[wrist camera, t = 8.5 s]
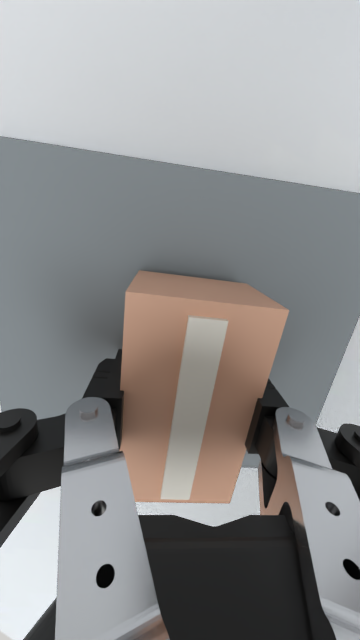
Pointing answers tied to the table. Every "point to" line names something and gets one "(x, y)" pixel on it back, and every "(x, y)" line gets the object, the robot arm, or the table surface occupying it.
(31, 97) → the table surface
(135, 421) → the box
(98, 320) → the mat
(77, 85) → the table surface
